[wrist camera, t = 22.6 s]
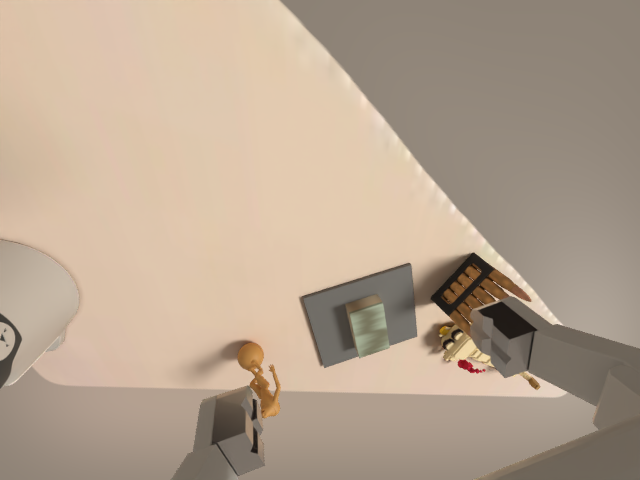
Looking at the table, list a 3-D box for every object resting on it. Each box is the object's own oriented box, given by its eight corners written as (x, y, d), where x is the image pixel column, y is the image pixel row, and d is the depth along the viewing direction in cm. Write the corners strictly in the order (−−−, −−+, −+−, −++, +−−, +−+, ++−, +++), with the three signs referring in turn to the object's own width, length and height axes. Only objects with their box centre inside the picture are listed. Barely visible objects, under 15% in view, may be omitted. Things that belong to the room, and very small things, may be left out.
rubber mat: (323, 365, 54) (324, 368, 54) (302, 296, 47) (303, 298, 46) (415, 334, 56) (417, 336, 56) (409, 263, 49) (411, 264, 48)
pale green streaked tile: (383, 337, 54) (377, 293, 49) (389, 347, 52) (383, 303, 47) (354, 347, 53) (345, 304, 49) (359, 358, 51) (349, 314, 46)
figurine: (249, 324, 47) (249, 390, 37) (284, 333, 49) (294, 398, 39) (229, 362, 49) (224, 435, 39) (263, 369, 52) (267, 440, 41)
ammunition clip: (436, 302, 54) (482, 353, 43) (430, 298, 53) (475, 348, 42) (479, 257, 51) (539, 298, 41) (473, 252, 51) (533, 293, 40)
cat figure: (522, 339, 66) (456, 307, 55) (560, 372, 59) (493, 343, 47) (492, 370, 69) (422, 346, 57) (524, 406, 61) (452, 386, 50)
